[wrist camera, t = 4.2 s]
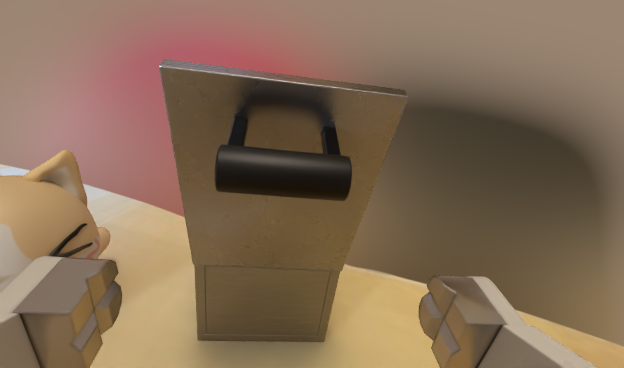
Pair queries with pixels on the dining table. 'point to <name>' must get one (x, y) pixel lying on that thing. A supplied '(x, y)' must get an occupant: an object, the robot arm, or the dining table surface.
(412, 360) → the dining table surface
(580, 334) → the dining table surface
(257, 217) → the tin lid
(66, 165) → the kitten
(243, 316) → the tin
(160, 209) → the dining table surface
